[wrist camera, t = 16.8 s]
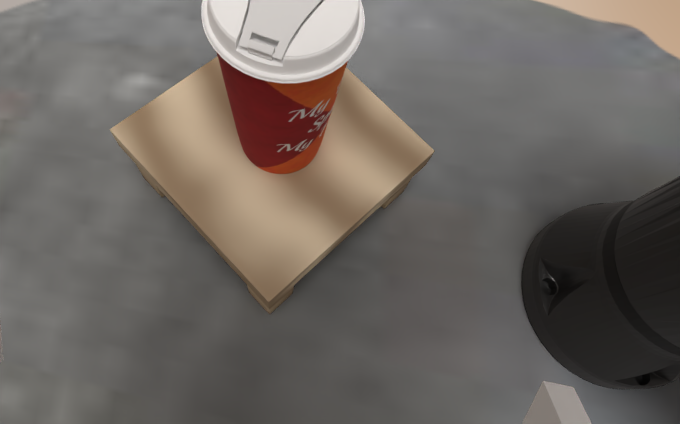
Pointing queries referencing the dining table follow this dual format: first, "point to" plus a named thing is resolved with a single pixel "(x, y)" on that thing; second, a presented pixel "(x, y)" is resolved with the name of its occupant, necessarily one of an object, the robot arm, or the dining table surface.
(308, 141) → the paper cup
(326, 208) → the wooden step stool
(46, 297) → the dining table surface
